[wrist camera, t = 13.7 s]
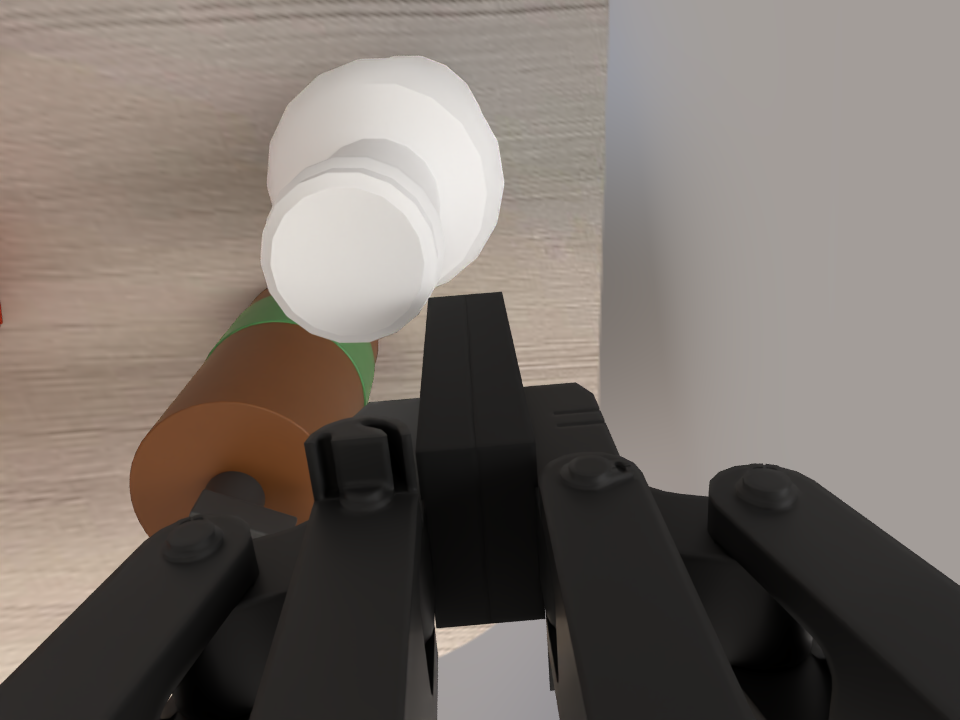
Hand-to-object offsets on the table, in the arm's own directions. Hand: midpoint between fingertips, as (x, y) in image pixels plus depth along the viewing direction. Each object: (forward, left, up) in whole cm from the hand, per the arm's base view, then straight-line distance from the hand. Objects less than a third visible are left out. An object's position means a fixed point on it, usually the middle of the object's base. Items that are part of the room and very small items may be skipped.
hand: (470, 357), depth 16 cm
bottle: (+2, -2, -31) cm, 31 cm away
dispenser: (+10, +10, -30) cm, 34 cm away
